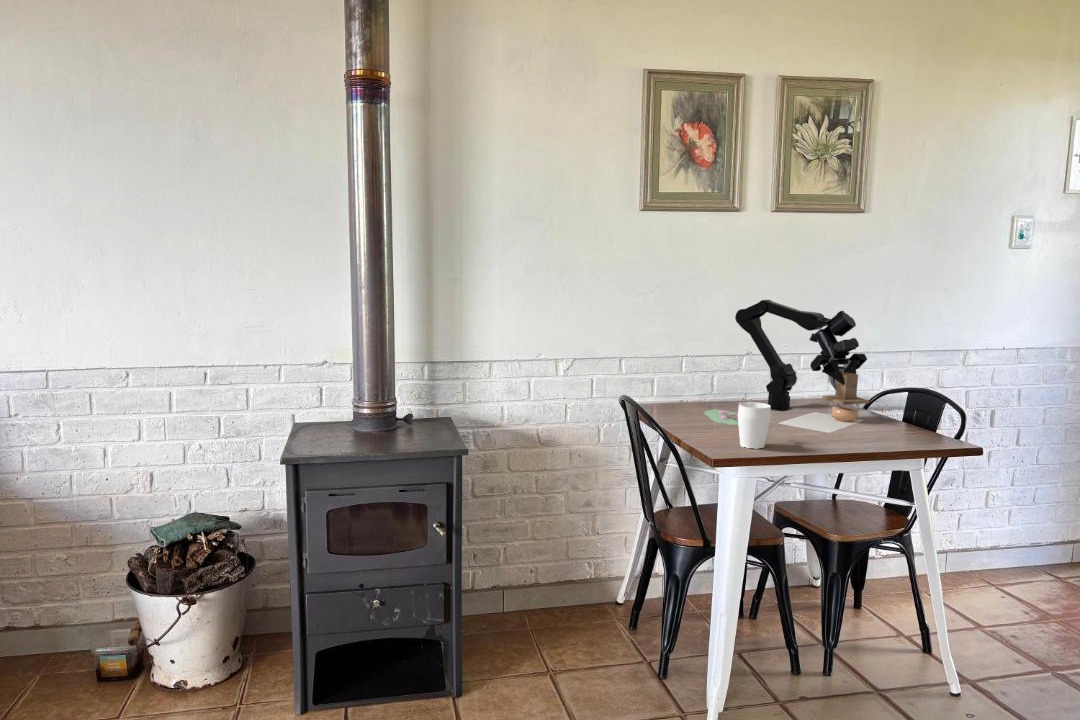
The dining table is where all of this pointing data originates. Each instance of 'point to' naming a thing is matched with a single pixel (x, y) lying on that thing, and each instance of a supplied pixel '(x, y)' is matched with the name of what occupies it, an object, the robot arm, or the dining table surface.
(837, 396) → the lid
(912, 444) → the dining table surface
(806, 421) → the mat
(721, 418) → the plant
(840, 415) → the bowl
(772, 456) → the dining table surface
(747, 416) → the cup
